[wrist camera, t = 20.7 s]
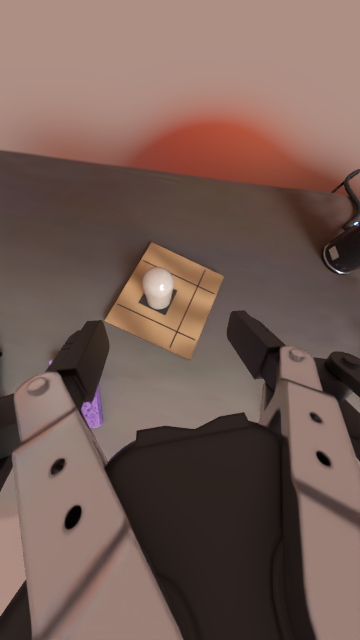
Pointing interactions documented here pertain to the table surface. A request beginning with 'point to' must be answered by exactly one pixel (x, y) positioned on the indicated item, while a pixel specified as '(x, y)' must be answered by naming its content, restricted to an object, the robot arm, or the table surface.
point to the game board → (180, 315)
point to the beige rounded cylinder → (158, 287)
